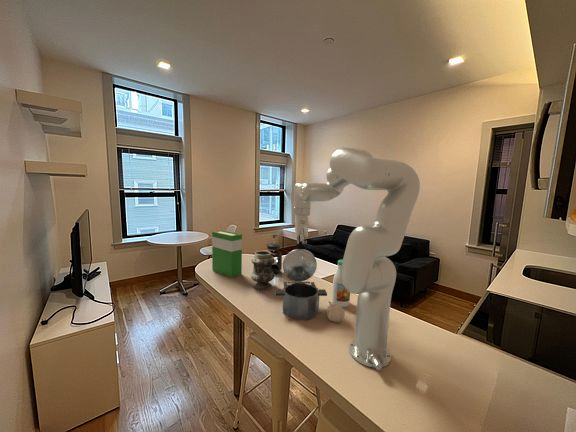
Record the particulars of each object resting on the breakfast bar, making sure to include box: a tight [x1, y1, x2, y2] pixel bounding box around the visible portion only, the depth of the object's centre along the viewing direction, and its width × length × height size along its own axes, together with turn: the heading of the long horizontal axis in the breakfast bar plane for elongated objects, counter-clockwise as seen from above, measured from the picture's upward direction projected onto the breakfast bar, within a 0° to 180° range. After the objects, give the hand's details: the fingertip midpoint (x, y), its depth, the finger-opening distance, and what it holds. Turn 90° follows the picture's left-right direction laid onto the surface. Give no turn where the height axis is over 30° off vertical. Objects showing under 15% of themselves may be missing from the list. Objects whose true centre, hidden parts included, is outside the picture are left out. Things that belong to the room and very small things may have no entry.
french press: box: [266, 234, 283, 276], centre depth 146 cm, size 12×9×23 cm
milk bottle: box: [331, 259, 351, 308], centre depth 108 cm, size 8×8×20 cm
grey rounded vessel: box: [250, 250, 275, 291], centre depth 125 cm, size 12×12×18 cm
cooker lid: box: [282, 248, 318, 284], centre depth 108 cm, size 16×15×3 cm
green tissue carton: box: [211, 229, 243, 278], centre depth 143 cm, size 18×7×24 cm, turn 53°
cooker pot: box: [275, 281, 328, 321], centre depth 102 cm, size 16×21×9 cm
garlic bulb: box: [326, 301, 346, 323], centre depth 95 cm, size 7×6×8 cm
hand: (299, 251), depth 109 cm, fingers closed
